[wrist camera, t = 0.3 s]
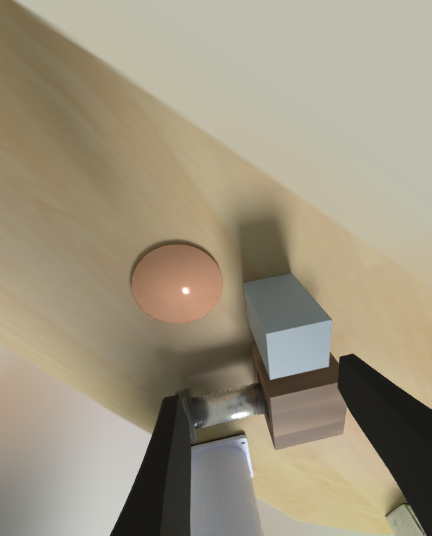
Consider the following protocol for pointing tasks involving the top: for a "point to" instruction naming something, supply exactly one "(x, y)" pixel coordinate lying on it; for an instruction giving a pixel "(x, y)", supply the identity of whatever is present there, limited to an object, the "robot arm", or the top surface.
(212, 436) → the top surface
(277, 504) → the top surface
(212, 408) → the rod
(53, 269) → the top surface
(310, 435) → the rod housing
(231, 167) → the top surface
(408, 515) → the syrup box
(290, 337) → the block
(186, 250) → the plate
